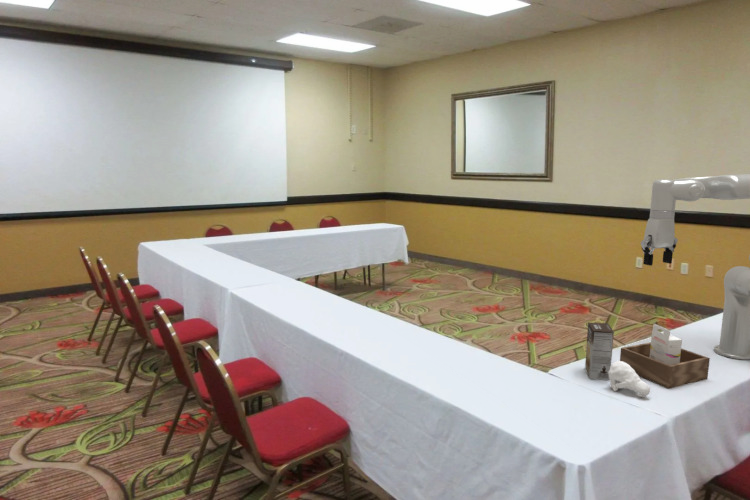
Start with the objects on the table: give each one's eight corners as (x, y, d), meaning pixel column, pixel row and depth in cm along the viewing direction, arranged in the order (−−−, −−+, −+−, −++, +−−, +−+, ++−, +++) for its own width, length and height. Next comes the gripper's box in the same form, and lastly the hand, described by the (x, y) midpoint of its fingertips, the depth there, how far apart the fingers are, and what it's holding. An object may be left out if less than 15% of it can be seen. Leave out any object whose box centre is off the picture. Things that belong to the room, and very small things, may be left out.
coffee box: (584, 368, 178) (587, 321, 175) (604, 369, 176) (608, 323, 174) (589, 379, 169) (592, 330, 166) (610, 381, 167) (614, 331, 165)
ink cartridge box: (679, 375, 170) (684, 330, 167) (665, 376, 169) (669, 331, 167) (661, 365, 178) (665, 322, 176) (647, 365, 177) (651, 323, 175)
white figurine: (619, 356, 164) (658, 372, 155) (614, 382, 166) (652, 399, 157) (607, 361, 160) (647, 377, 151) (603, 386, 162) (641, 404, 153)
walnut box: (656, 360, 185) (658, 340, 184) (707, 379, 169) (709, 358, 168) (619, 368, 178) (620, 347, 177) (668, 388, 162) (670, 366, 161)
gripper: (669, 213, 192) (664, 260, 195) (635, 215, 185) (630, 263, 188) (688, 215, 186) (684, 263, 188) (654, 217, 179) (649, 267, 181)
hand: (657, 263), depth 188 cm, fingers open, 9 cm apart
